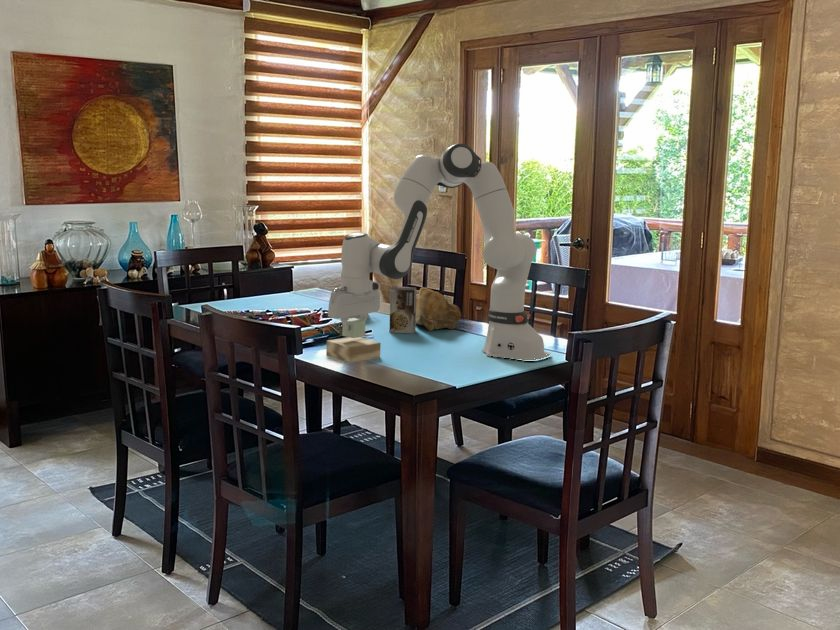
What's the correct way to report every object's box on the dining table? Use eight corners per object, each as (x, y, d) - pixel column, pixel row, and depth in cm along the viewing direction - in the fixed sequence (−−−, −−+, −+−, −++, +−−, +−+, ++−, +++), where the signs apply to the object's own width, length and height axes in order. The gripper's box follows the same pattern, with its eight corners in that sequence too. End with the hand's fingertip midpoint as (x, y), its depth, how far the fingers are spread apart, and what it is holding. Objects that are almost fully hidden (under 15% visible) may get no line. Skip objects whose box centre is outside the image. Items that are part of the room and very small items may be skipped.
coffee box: (415, 330, 302) (417, 287, 299) (413, 334, 296) (415, 289, 293) (391, 329, 303) (392, 285, 300) (388, 332, 296) (390, 288, 294)
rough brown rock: (464, 336, 299) (469, 295, 297) (419, 332, 296) (424, 291, 294) (452, 325, 322) (457, 288, 320) (410, 321, 319) (415, 283, 317)
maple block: (380, 358, 259) (380, 342, 258) (350, 363, 251) (350, 347, 250) (356, 351, 267) (356, 336, 266) (326, 355, 259) (326, 340, 258)
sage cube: (364, 335, 258) (365, 320, 257) (354, 338, 255) (354, 322, 254) (353, 333, 261) (353, 317, 260) (342, 335, 258) (342, 320, 257)
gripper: (338, 290, 245) (338, 335, 248) (384, 283, 261) (382, 326, 263) (323, 287, 249) (323, 332, 251) (369, 281, 265) (368, 323, 267)
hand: (354, 329), depth 258 cm, fingers closed on sage cube, 5 cm apart
